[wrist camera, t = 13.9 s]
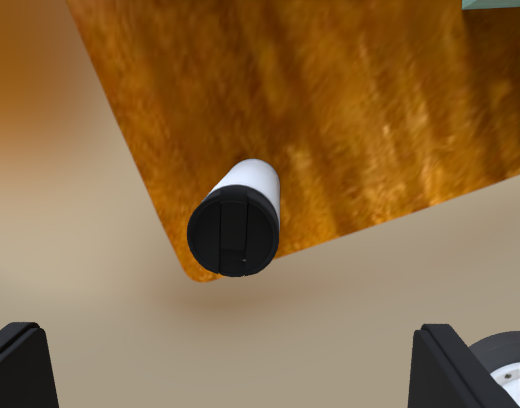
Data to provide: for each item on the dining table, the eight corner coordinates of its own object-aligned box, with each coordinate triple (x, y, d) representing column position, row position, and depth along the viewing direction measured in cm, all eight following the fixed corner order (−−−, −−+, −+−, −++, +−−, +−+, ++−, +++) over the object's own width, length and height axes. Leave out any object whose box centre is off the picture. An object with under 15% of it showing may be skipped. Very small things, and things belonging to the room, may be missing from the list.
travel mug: (282, 157, 42) (284, 191, 23) (277, 212, 44) (276, 289, 24) (227, 153, 42) (184, 184, 23) (225, 209, 44) (182, 281, 24)
